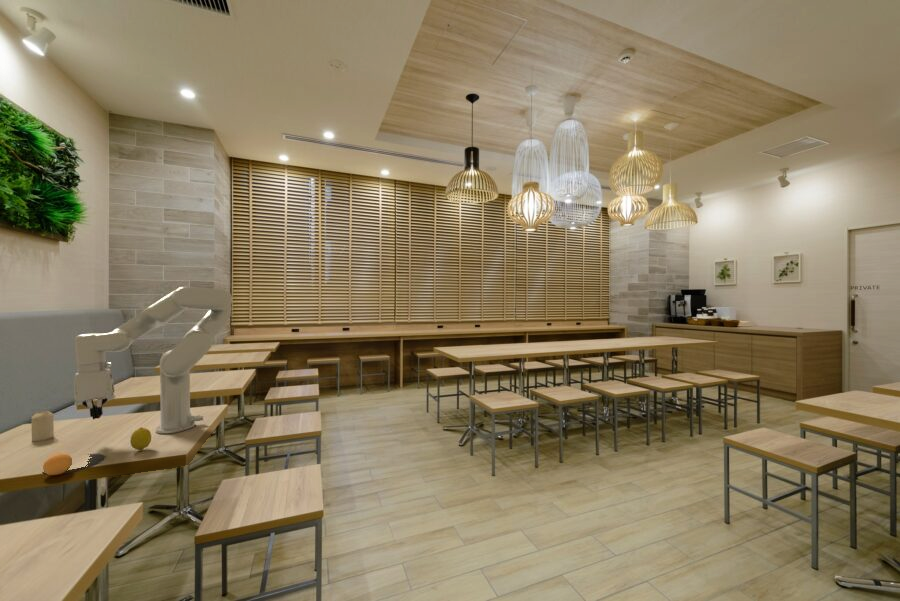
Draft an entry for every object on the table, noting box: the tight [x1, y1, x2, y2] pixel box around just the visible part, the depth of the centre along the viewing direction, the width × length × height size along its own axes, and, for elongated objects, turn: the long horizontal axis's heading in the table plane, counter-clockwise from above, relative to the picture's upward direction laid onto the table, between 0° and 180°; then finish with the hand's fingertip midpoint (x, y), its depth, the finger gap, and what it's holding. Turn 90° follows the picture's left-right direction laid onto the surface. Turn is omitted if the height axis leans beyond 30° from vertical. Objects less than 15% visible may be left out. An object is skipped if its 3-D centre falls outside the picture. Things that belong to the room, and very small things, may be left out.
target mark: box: [44, 453, 106, 476], centre depth 118 cm, size 14×14×1 cm
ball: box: [42, 452, 72, 476], centre depth 111 cm, size 6×6×6 cm
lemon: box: [129, 426, 152, 452], centre depth 128 cm, size 6×6×8 cm
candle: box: [30, 410, 55, 442], centre depth 138 cm, size 6×6×10 cm
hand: (96, 417), depth 134 cm, fingers closed
